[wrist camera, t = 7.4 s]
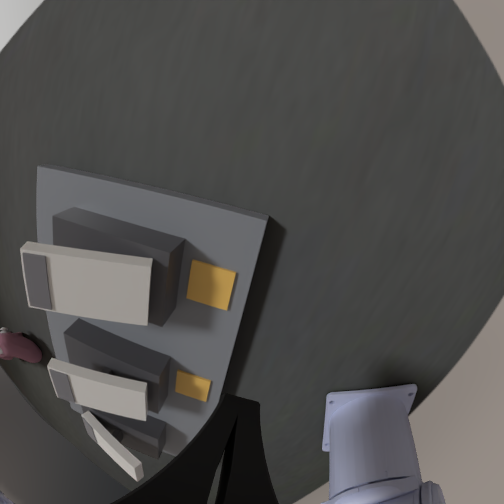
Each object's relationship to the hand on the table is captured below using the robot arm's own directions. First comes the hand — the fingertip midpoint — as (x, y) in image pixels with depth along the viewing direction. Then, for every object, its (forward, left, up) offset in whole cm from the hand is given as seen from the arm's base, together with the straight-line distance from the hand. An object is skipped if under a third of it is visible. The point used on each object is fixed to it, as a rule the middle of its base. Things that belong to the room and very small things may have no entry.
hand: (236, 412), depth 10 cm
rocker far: (-16, +16, -5) cm, 23 cm away
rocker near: (+3, +10, -5) cm, 11 cm away
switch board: (-6, +13, -10) cm, 18 cm away
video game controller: (-8, +33, -11) cm, 35 cm away
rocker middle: (-6, +13, -5) cm, 15 cm away
